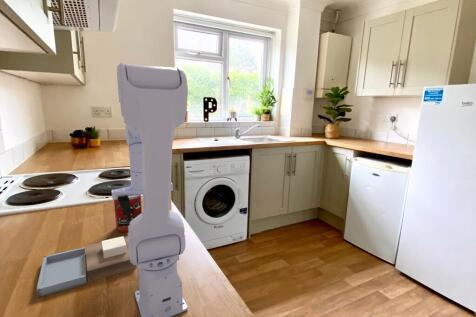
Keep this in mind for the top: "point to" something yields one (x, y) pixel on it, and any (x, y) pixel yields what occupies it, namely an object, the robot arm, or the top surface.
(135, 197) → the canned food
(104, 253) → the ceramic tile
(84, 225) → the top surface
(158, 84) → the robot arm
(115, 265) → the walnut board
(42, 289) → the tray
